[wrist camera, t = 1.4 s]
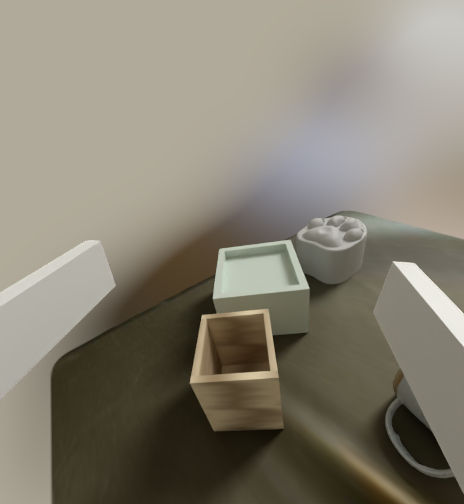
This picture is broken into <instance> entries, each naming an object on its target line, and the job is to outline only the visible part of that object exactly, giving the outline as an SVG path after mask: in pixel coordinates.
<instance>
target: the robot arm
mask: <svg viewBox="0 0 464 504" xmlns="http://www.w3.org/2000/svg"><path fill="white" fill-rule="evenodd" d="M115 286H116V285H115V282H114V279H113V276H112V273H111V270H110V268H109V265H108V262H107V259H106V256H105V253H104V250H103V247H102V244H101V241H91V240H86V241H85V242H83V243H81V244H80V245H78V246H77V247H75V248H73V249H71V250H70V251H68V252H66V253H65V254H63V255H61V256H60V257H58V258H56V259H55V260H53V261H51V262H50V263H49V264H46V265H45V266H43V267H42V268H40V269H38V270H37V271H35V272H33V273H32V274H30V275H28V276H27V277H25V278H23V279H22V280H20V281H18V282H17V283H15V284H13V285H12V286H10V287H8V288H7V289H5V290H4V291H2V292H0V400H1V398H3V397H4V396H5V394H7V393H8V392H9V391H10V390H11V389H12V388H13V387H14V386H15V385H16V383H18V382H19V381H20V380H21V379H22V378H23V377H24V376H25V375H26V374H27V373H28V372H29V371H30V370H31V369H32V368H33V367H34V366H35V365H36V364H37V363H38V362H39V361H40V360H41V359H42V358H43V357H44V356H45V355H46V354H47V353H48V352H49V351H50V350H51V349H52V348H53V347H54V346H55V345H56V344H57V343H58V342H59V341H60V340H61V339H62V338H63V337H64V336H65V335H66V334H67V333H68V332H69V331H70V330H71V329H72V328H73V327H74V326H75V325H76V324H77V323H78V322H79V321H80V320H81V319H82V318H83V317H84V316H85V315H86V314H87V313H88V312H89V311H90V310H91V309H93V308H94V307H95V306H96V305H97V303H98V302H100V301H101V300H102V299H103V298H104V297H105V296H106V295H107V294H108V293H109V292H110V290H112V289H113V288H114V287H115ZM373 314H374V316H375V318H376V320H377V322H378V324H379V326H380V328H381V330H382V332H383V334H384V336H385V338H386V340H387V342H388V344H389V346H390V348H391V350H392V352H393V354H394V356H395V358H396V360H397V362H398V364H399V366H400V368H401V370H402V372H403V374H404V376H405V378H406V380H407V382H408V384H409V386H410V388H411V390H412V392H413V394H414V396H415V398H416V400H417V402H418V404H419V406H420V408H421V410H422V412H423V414H424V416H425V418H426V420H427V422H428V424H429V426H430V428H431V430H432V432H433V434H434V436H435V438H436V440H437V442H438V444H439V446H440V448H441V450H442V452H443V454H444V456H445V458H446V460H447V462H448V464H449V466H450V468H451V470H452V472H453V474H454V476H455V478H456V480H457V482H458V484H459V486H460V488H461V490H462V492H463V494H464V313H463V312H462V311H461V310H460V309H459V308H458V307H457V306H456V305H455V304H454V303H453V302H452V301H451V300H450V299H449V298H448V297H447V296H446V295H445V294H444V293H443V292H442V291H441V290H440V289H439V288H438V287H437V286H436V285H435V284H434V283H433V282H432V281H431V280H430V279H429V278H428V277H427V276H426V275H425V274H424V272H423V271H422V270H421V269H420V268H419V267H418V266H417V265H416V264H415V263H407V262H392V265H391V267H390V270H389V272H388V275H387V277H386V280H385V282H384V285H383V288H382V290H381V293H380V295H379V298H378V300H377V303H376V305H375V308H374V311H373Z"/></svg>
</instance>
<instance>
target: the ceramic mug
mask: <svg viewBox="0 0 464 504" xmlns="http://www.w3.org/2000/svg"><path fill="white" fill-rule="evenodd" d="M393 388H394V392H395V394H396V395H397V398H396V399H395V400H394V401H393V402H392V403H391V404H390V406H389V408H388V410H387V413H386V417H385V424H386V429H387V433H388V436H389V438H390V440H391V442H392V443H393V445H394V447H395V448H396V449H397V451H398V452H399V453H400V455H401V456H402V457H403V458H404V459H405V460H406V461H407V462H408V463H409V464H410V465H411V466H413V467H414V468H415V469H417V470H419V471H420V472H422V473H424V474H426V475H429V476H433V477H437V478H450V477H454V474H453V472H452V470H451V469H445V470H436V469H433V468H429V467H427V466H423V465H420V464H418V463H417V462H416V461H415V459H414V458H413V457H412V456H411V455H410V453H409V452H408V451H407V450H406V448H405V447H404V446H403V444H402V443H401V441H400V437H399V436H398V435H397V434H396V433H395V432H394V429H393V427H392V417H393V416H394V413H395V411H396V410H397V408H398V407H399V406H400V405H402V404H403V405H405V406H406V407H407V408H408V409H409V410H410V411H411V413H413V414H414V415H415V416H416V417H417V418H418V419H419V420H420V421H421V422H422V423H424V424H425V425H426V426H427V427H428V428H429V429H430V430H431V428H430V426H429V424H428V422H427V420H426V418H425V416H424V414H423V412H422V410H421V408H420V406H419V404H418V402H417V400H416V398H415V396H414V394H413V392H412V390H411V388H410V386H409V384H408V382H407V380H406V378H405V376H404V374H403V372H402V370H401V368H400V369H399V371H398V372H397V374H396V376H395V379H394V381H393ZM431 431H432V430H431Z"/></svg>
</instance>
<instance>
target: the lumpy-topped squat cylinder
mask: <svg viewBox="0 0 464 504" xmlns="http://www.w3.org/2000/svg"><path fill="white" fill-rule="evenodd" d="M366 238H367V229H366V226H365V225H364V224H363V223H362V222H361V221H359V220H358V219H355V218H350V217H346V216H345V217H342V216H334V217H332V218H326V219H320V218H315V219H313V220H312V221H310V223H309V225H308V226H306V227H305V228H304V229H302V230H301V231H300V232H299V233H298V234H297V258H298V260H299V263H300V265H301V268H302V271H303V273H305V274H308V275H310V276H313V277H315V278H316V279H318V280H319V281H321V282H323V283H326V284H339V283H342V282H344V281H346V280H348V279H349V278H350V277H352V276H353V275H354V274H355V273H357V272H358V270H359V269H360V268H361V266H362V261H363V255H364V249H365V243H366Z"/></svg>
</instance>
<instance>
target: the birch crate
mask: <svg viewBox="0 0 464 504" xmlns="http://www.w3.org/2000/svg"><path fill="white" fill-rule="evenodd" d="M190 385H191V387H192V389H193V391H194V393H195V394H196V396H197V398H198V400H199V402H200V404H201V406H202V408H203V410H204V412H205V414H206V416H207V418H208V420H209V422H210V424H211V426H212V428H213V430H214V431H241V430H267V429H284V426H283V416H282V406H281V396H280V386H279V377H278V370H277V363H276V357H275V350H274V343H273V336H272V330H271V323H270V316H269V310H268V309H260V310H250V311H239V312H229V313H219V314H208V315H202V318H201V324H200V329H199V335H198V341H197V346H196V352H195V357H194V363H193V369H192V374H191V380H190Z"/></svg>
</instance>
